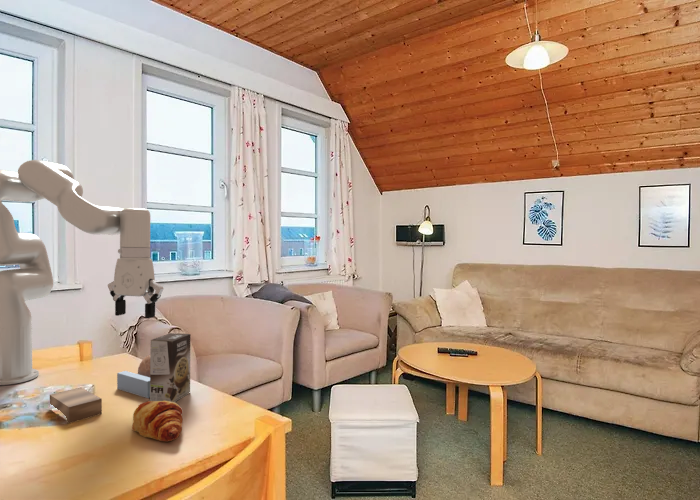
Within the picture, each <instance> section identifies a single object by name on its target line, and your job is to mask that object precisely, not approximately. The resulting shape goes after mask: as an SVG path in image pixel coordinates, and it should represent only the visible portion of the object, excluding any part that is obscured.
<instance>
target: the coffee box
mask: <svg viewBox="0 0 700 500" xmlns="http://www.w3.org/2000/svg"><path fill="white" fill-rule="evenodd" d="M149 355H150V398H149V401H164V400H165V401H170V402H175V403H176V402H177V401H178V400H180V398H181V399H182V398H184V397H185V396H187V395H188V393H189V392H190V393H191V334H190V333H171V332H170V333H167V334H165V335H161V336H159V337H156V338H153V339H150V354H149ZM190 393H189V394H190ZM186 394H187V395H186ZM183 396H184V397H183Z"/></svg>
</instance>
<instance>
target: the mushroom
mask: <svg viewBox="0 0 700 500" xmlns="http://www.w3.org/2000/svg"><path fill="white" fill-rule="evenodd" d="M137 374H139V375H143V376H146V377H150V354H149V355H146V356H145V357H144V358H143V359H142V360H141V361H140V363H139V365H138V368H137Z"/></svg>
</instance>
